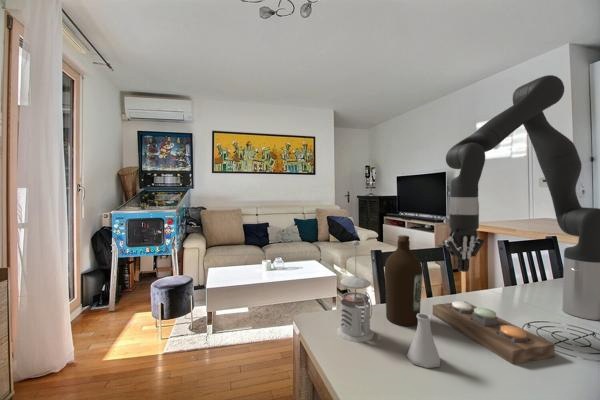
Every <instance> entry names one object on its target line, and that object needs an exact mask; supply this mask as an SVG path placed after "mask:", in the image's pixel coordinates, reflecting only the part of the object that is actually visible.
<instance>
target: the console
mask: <svg viewBox="0 0 600 400" xmlns="http://www.w3.org/2000/svg"><path fill="white" fill-rule="evenodd" d="M464 302H465V303H468V304H470V305H471V306H472V309H473V312H474V309H475V308H479V307H477V306H476V305H473V304H472V303H470V302H467V301H464ZM451 305H452V302H446V303H438V304H432V315H433V316H434V317H436V318H437V319H438V320H439V319H440V320H441V321H443V322H444V323H445V324H448V325H449V326H450V327H452V328H453V329H455V330H456V331H458V332H460V333H462V334H464V335H465V336H467V337H468V338H469V339H471V340H473V341H475V342H476V343H478V344H480V345H481V346H482V347H484V348H486V349H487V350H488V351H490V352H492V353H494V354H496V355H497V356H498V357H501V358H502V359H503V360H505V361H506V362H508V363H510V364H512V365H517V364H522V363H528V362H533V361H539V360H545V359H552V358H555V352H556V351H555V350H556V349H555V343H553V342H550V341H549V340H546V339H544V338H542V337H540V336H538V335H536V334H534V333H532V332H530V331H527V330H526V329H524V328H523V327H520V326H517V325H515V324H513V323H511V322H510V321H509V322H508V321H507V320H506V319H503V318H500V317H498V316H497V317H498V323H497V326H489V327H484V326H482V325H480V324H479V323H477V322H475V321H473V320H472V319H473V313H465V314H460V313H458V312H457V311H455V310H453V309H451ZM504 325H508V326H514V327H517V328H520V329H522V330H524V331H525V332H526V336H528V341H525V342H518V343H514V342H512V341H510V340H508V339H506V338H504V337H503V336H501V335H499V330H501V326H504Z"/></svg>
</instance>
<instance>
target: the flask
mask: <svg viewBox="0 0 600 400" xmlns="http://www.w3.org/2000/svg"><path fill="white" fill-rule="evenodd" d="M417 318H418V324H417V325H416V326H417V327H416V331H415V333H414V337H413V339H412V341H411V344H410V346H409V349H408V352H407V355H406V358H407V359H408V360H409V361H410V362H411V363H412V365H416V366H420V367H422V368H426V369H431V368H440V367H441V357H440V354H439V352H438V351H439V350H438V348H437V347H436V344H435V339H434V337H433V334H432V327H431V322H432V319H433V318H432V316H431V315H429V314H428V313H424V312H422V313H421V312H420V313H419V314H417Z"/></svg>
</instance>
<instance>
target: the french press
mask: <svg viewBox="0 0 600 400" xmlns="http://www.w3.org/2000/svg"><path fill="white" fill-rule="evenodd" d="M352 246H354V247H355V249H354V250H355V251H354V253H355V257H354V259H355V260H354V262H355V263H354V265H355V268H354V269H355V270H354V271H355V272H354V273H355V274H354V275H349V276H346V277H343V279H341V280H340V284H341V286H343V287H345V288H348V289H354V291H353V292H345V293H343V294H342V296H341V298H342V299H341V301H340V310H341V311H340V326H339V327H338V328H337V330H336V332H337V334H338V336H339V337H340V338H342V339H343V340H346V341H349V342H355V343H360V342H361V343H364V342H368V341H370V340H373V338H374V332H373V330H372V329H371V318H372V315H373V304H372V300H371V297H370V295H369V293H368V292H367V291H366V292H365V294H364V293H362V292H357V290H359V289H361V290H362V289H367V288H369V287H370V286H371V285H372V282H371V280H370V281H369V280H368V279H367V278H366V277H363V276H359V275H357V246H360V241H359V240H353V241H352ZM357 306H358V307H357Z"/></svg>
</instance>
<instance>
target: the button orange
mask: <svg viewBox="0 0 600 400" xmlns="http://www.w3.org/2000/svg"><path fill="white" fill-rule="evenodd" d="M520 328H521V327H520ZM520 328H517V327H514V326H508V325H504V326H501V330H499V335H501V336H503V337H504V338H506V339H508V340H510V341H512V342H514V343H518V342H525V341H528V336H526V332H525V331H524V330H525V329H524V330H522V329H523V328H522V329H520Z"/></svg>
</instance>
